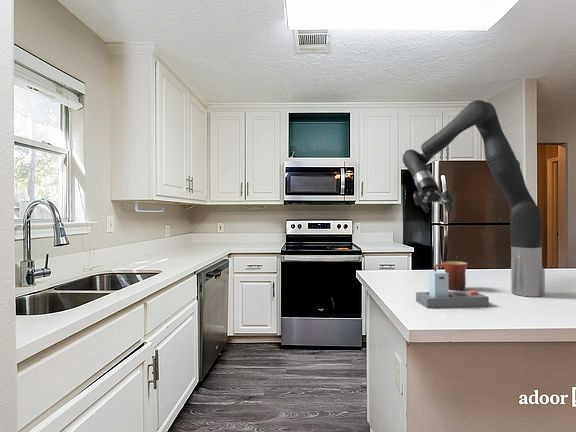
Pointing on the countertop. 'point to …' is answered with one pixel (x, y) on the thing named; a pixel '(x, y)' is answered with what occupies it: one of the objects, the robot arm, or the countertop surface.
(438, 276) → the block
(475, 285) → the countertop surface
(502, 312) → the countertop surface
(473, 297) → the power strip
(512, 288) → the robot arm
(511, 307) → the countertop surface
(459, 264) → the mug
